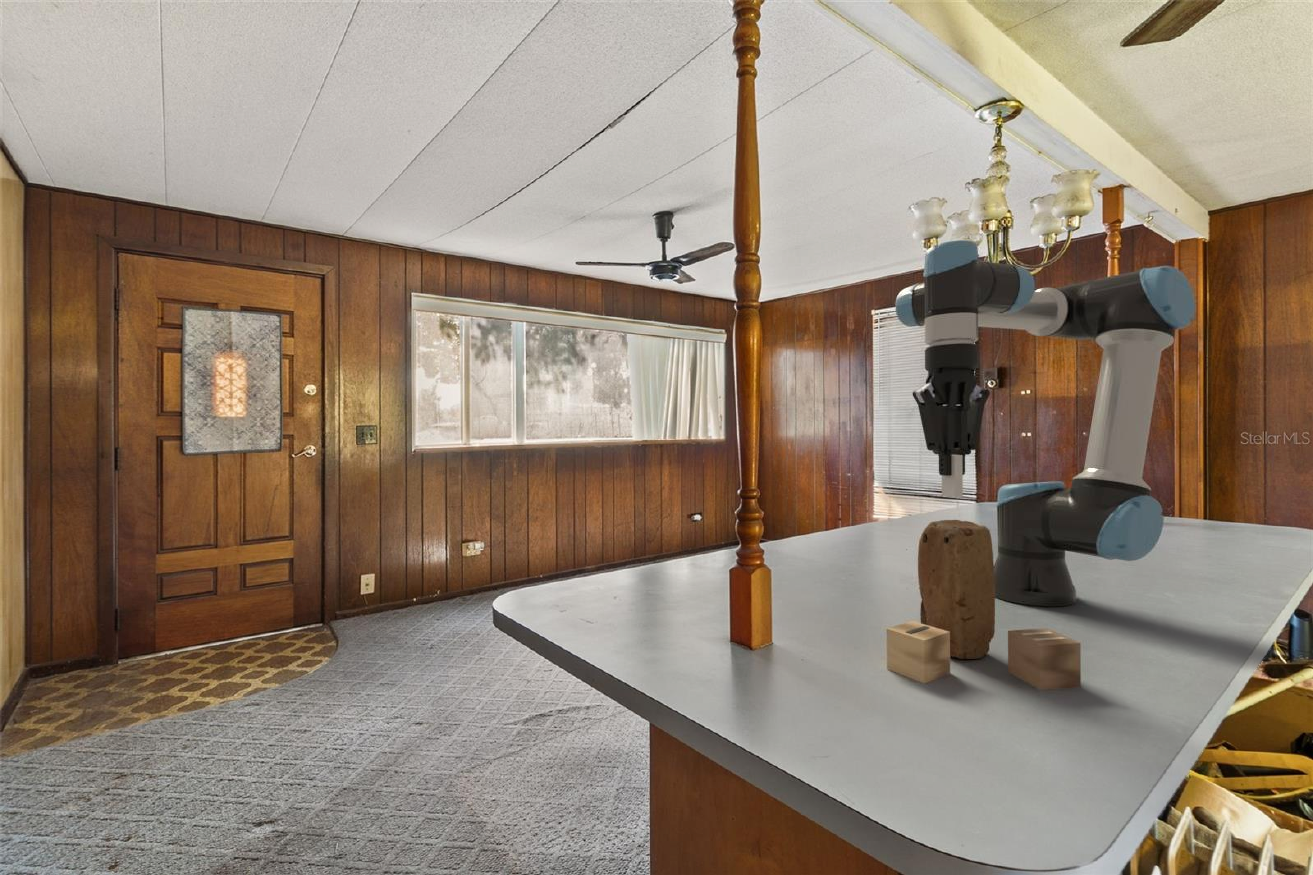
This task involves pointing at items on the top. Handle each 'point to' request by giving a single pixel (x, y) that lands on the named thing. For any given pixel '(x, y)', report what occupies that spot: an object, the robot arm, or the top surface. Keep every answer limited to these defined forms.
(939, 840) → the top surface
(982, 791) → the top surface
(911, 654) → the cube one stripe
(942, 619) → the block
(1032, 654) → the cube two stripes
